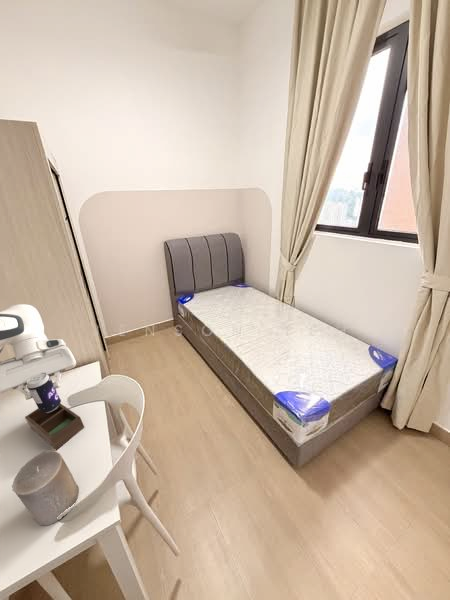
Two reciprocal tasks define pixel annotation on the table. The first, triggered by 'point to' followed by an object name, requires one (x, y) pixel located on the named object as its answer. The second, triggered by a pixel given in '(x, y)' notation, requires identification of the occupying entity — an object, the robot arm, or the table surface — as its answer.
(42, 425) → the dark brown divided box
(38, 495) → the pillar candle
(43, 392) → the beverage can
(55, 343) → the robot arm
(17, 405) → the table surface
